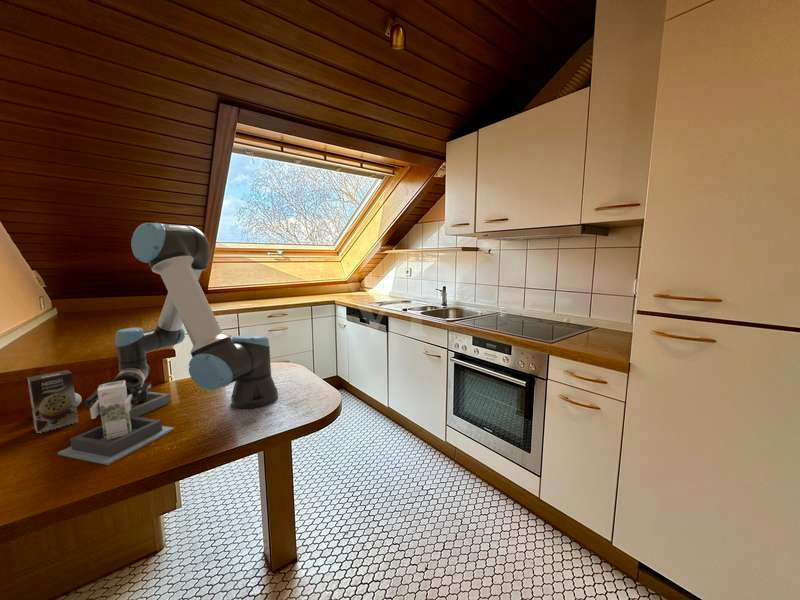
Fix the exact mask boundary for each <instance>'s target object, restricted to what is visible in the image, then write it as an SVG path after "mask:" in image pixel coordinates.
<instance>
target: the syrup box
mask: <svg viewBox="0 0 800 600" xmlns="http://www.w3.org/2000/svg"><path fill="white" fill-rule="evenodd" d="M97 389H98V390H97V391H98V399H99V406H100V413H101V416H100V419H101V425H102V427H103V434H104V440H105V441H109V440H113V439H117V438H120V437H122V436H124V435H127V434H129V433H131V420H130V414H129V412H127V413H125V406H124V403H125V401H126V399H127V398H128V397H127V388H126V381H125V380H123V381H117V382H113V381H111V382H108V383H107V382H106V383H103V384H99V385H98V387H97Z"/></svg>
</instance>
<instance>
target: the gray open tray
mask: <svg viewBox="0 0 800 600" xmlns="http://www.w3.org/2000/svg"><path fill="white" fill-rule="evenodd" d="M140 393H141V390H139V392H138V394H140ZM171 400H172V399H171V393H164V392H157V391H156V392H154V391H149V392H148V397H147V399H146V400H142V399H141V400H139V402H143V403H141V404H139V405H136V406H134V407H131V409H130V411H129V414H130V416H136V417H141V416H144V415H145V414H147V413H150V412H153V411H154V410H157V409H159V408H161V407H163V406H166V405H169V404H170V403H172V401H171ZM98 415H100V416H99V417H101V413H100V412H99V414H98ZM98 415H97V416H98Z"/></svg>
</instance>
